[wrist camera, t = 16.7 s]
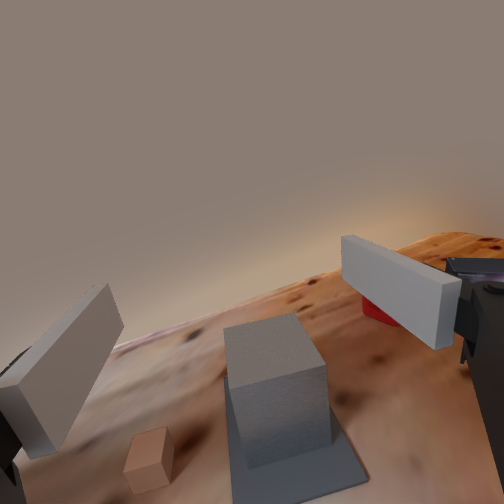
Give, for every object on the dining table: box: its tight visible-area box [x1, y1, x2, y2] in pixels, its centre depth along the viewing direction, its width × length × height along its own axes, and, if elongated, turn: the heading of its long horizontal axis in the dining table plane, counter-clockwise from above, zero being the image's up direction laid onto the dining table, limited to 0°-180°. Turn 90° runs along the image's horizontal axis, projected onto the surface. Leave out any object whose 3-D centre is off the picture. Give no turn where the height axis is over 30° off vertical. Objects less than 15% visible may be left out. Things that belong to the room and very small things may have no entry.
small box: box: [445, 257, 504, 283], centre depth 44 cm, size 11×6×10 cm, turn 64°
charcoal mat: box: [224, 377, 368, 504], centre depth 33 cm, size 14×18×1 cm
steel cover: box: [224, 313, 332, 470], centre depth 31 cm, size 10×10×12 cm
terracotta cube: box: [123, 426, 175, 495], centre depth 29 cm, size 4×4×4 cm
